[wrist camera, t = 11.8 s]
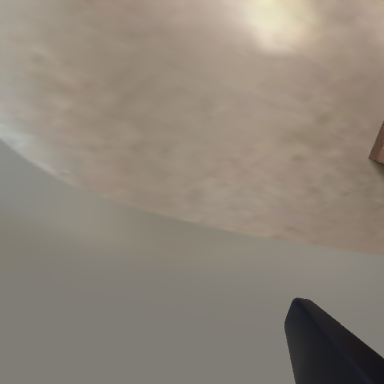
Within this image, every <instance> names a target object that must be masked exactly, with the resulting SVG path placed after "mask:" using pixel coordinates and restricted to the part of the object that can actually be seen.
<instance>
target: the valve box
mask: <svg viewBox="0 0 384 384" xmlns="http://www.w3.org/2000/svg"><path fill="white" fill-rule="evenodd" d="M369 159H371V160H374V161H377V162H379V163H382V164H384V122H383V124H382V127H381V129H380V132H379V134H378V137H377V139H376V141H375V144H374V146H373V149H372V151H371V154H370V156H369Z"/></svg>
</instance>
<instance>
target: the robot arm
mask: <svg viewBox="0 0 384 384" xmlns="http://www.w3.org/2000/svg"><path fill="white" fill-rule="evenodd" d="M285 333H286V338H287V343H288V348H289V353H290V358H291V363H292V368H293V373H294V378H295V382H296V384H384V358H383V357H381V356H380V355H379V354H378V353H376V352H375V351H374V350H373V349H371V348H370V347H369V346H367V345H366V344H365V343H364V342H362V341H361V340H360V339H359V338H358V337H356V336H355V335H354V334H352V333H351V332H350V331H349V330H347V329H346V328H345V327H344V326H342V325H341V324H340V323H339V322H337V321H336V320H335V319H334V318H332V317H331V316H330V315H328V314H327V313H326V312H325V311H324V310H322V309H321V308H320V307H318V306H317V305H316V304H315V303H313V302H312V301H311V300H308V299H302V298H295V299H294V300H293V301H292V304H291V306H290V309H289V311H288V314H287V317H286V320H285Z"/></svg>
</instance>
